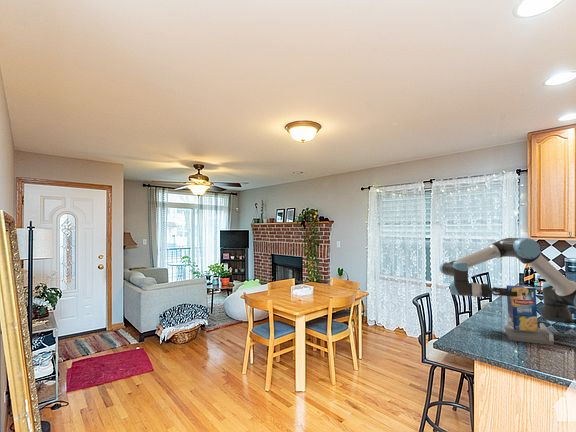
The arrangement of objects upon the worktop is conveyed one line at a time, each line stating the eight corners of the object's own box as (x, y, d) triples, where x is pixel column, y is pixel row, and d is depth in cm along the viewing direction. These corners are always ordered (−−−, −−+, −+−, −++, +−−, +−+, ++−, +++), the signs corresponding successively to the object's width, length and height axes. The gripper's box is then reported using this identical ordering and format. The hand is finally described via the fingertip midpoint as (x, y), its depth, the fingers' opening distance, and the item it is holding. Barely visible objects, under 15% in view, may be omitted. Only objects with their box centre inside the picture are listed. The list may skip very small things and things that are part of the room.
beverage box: (538, 330, 164) (535, 288, 165) (513, 329, 167) (511, 287, 168) (531, 327, 171) (529, 285, 172) (508, 325, 173) (506, 285, 175)
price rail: (540, 328, 173) (539, 323, 174) (543, 329, 173) (543, 323, 173) (549, 340, 154) (549, 334, 154) (553, 341, 154) (553, 334, 154)
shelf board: (504, 328, 181) (504, 324, 181) (543, 332, 173) (543, 329, 173) (508, 339, 162) (508, 335, 162) (553, 345, 153) (553, 341, 154)
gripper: (481, 294, 187) (530, 298, 175) (481, 299, 172) (535, 304, 160) (480, 281, 187) (529, 284, 175) (480, 285, 172) (534, 289, 160)
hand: (532, 293), depth 168 cm, fingers closed on beverage box, 4 cm apart
